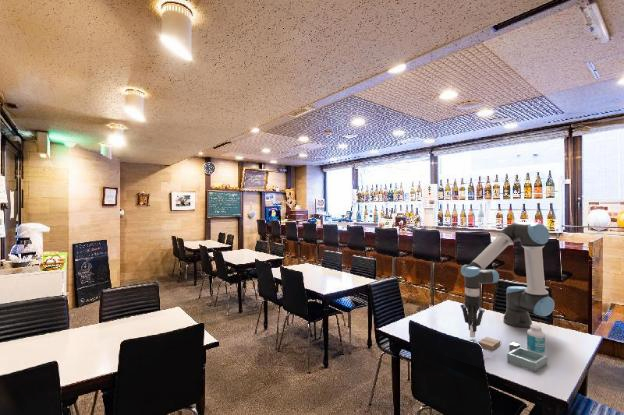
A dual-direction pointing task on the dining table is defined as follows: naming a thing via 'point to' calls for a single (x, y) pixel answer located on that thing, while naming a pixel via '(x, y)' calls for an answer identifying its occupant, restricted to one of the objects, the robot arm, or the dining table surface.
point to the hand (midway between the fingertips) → (472, 336)
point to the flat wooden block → (489, 343)
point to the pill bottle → (536, 339)
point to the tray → (527, 359)
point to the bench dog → (514, 346)
